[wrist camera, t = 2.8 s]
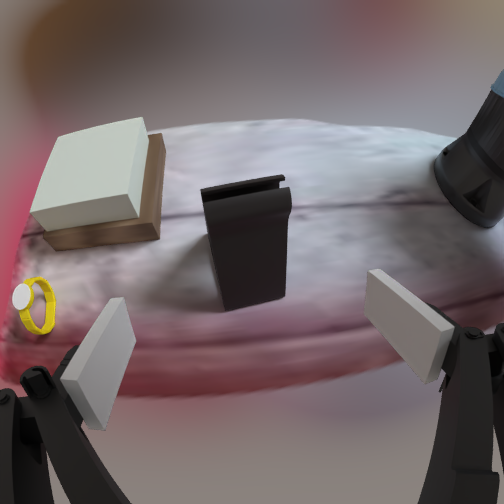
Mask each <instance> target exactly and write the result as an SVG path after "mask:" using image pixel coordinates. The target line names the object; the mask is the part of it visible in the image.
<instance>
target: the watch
mask: <svg viewBox="0 0 504 504" xmlns="http://www.w3.org/2000/svg"><path fill="white" fill-rule="evenodd" d="M34 282H35V283H37V284H39V286H40V287H41V289H42V290H43V292H44V295H45V299H46V302H47V304H46V317H45V324H44V326H43V327H42V329H39V328H37V327H36V325H35V324H34V322H33V320H32V319H31V316H30V312H29V308H30V307H31V306H32V304H33V301H34V292H33V289H32V285H33V283H34ZM13 305H14V306H15V308H16V309H18V310H19V313H20V318H21V320H22V322H23V324H24V325H25V327H26V329H28V331H30V332H32V333H33V334H47V333H50V332H51V330H52V329H53V327H54V324H55V307H56V299H55V295H54V292H53V289H52V288H51V286H50V284H49V283H48V282H47V280H45V279H43V278H42V277H34V278H29V279H26V280H25V281H24V283H22V284H20V285H18V286H17V287H16V289H15V290H14V293H13Z"/></svg>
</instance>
